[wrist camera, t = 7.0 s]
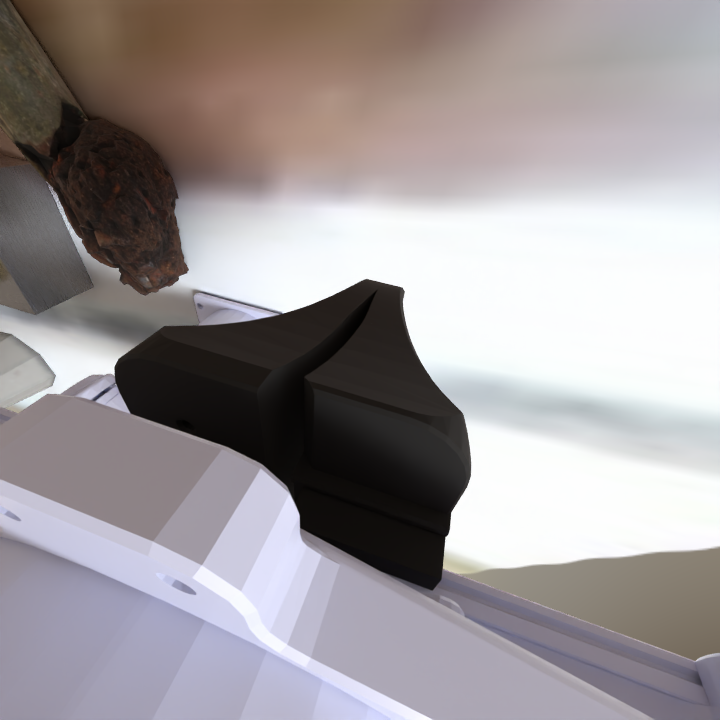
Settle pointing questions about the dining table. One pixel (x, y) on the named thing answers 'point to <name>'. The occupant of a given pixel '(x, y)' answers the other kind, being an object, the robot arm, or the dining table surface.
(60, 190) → the brown elongated piece
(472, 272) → the dining table surface
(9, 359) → the coffee maker
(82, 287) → the gray angular bracket
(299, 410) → the robot arm
